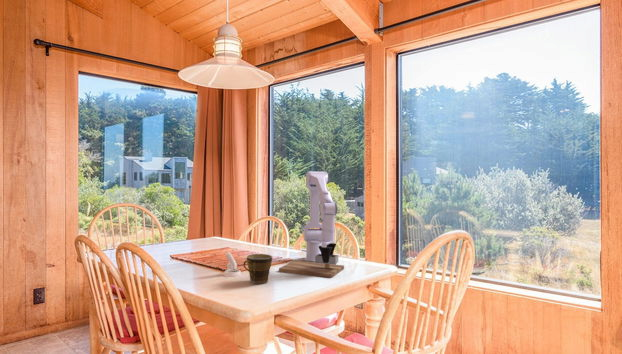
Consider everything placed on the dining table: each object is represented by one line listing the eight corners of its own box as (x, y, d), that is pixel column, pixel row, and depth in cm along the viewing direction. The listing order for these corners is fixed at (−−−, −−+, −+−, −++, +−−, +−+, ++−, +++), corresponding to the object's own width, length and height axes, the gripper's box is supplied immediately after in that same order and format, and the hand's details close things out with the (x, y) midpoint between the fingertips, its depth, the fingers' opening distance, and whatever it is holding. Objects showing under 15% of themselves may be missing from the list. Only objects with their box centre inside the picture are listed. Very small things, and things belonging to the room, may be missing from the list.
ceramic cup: (259, 277, 164) (260, 252, 164) (277, 282, 157) (277, 256, 157) (234, 283, 154) (235, 257, 153) (252, 288, 147) (253, 261, 147)
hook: (213, 265, 160) (217, 253, 166) (224, 285, 167) (228, 272, 172) (230, 262, 159) (234, 250, 165) (241, 282, 165) (244, 270, 171)
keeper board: (295, 263, 191) (295, 250, 191) (344, 268, 182) (344, 255, 182) (278, 271, 174) (279, 257, 174) (331, 277, 165) (331, 263, 165)
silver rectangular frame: (318, 260, 180) (318, 253, 180) (338, 261, 177) (338, 255, 177) (315, 263, 174) (315, 256, 174) (335, 264, 172) (335, 257, 172)
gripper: (323, 227, 184) (322, 257, 184) (314, 231, 170) (314, 263, 170) (338, 228, 182) (337, 258, 182) (331, 232, 168) (330, 265, 168)
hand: (327, 261), depth 176 cm, fingers closed on silver rectangular frame, 6 cm apart
